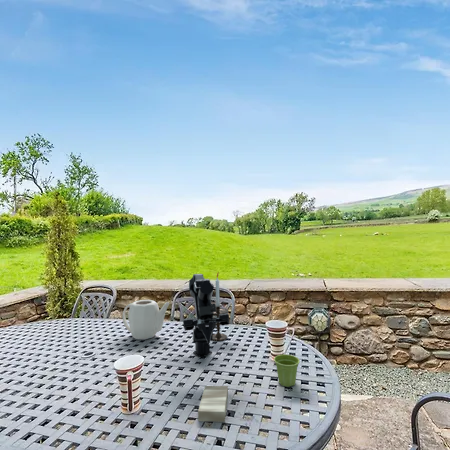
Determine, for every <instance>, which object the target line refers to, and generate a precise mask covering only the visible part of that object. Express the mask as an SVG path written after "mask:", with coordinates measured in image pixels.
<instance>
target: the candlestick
mask: <svg viewBox="0 0 450 450" xmlns="http://www.w3.org/2000/svg"><path fill="white" fill-rule="evenodd" d="M215 279H216V280H215V306H216V312H213V317H214V316H215V317H216V318H219V314H225V313H228V314H229V309H227V308H222V304H220V303H221V302H220V280H219V272H218V271H217V275H216V278H215ZM221 326H222V325H221V324H220V322H218V323H216V328H215V330H216V333H213V339H212V341H211V342H224V341H226V340H227V339H228V335H227V334H224V333H221V332H220V331H221Z"/></svg>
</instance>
